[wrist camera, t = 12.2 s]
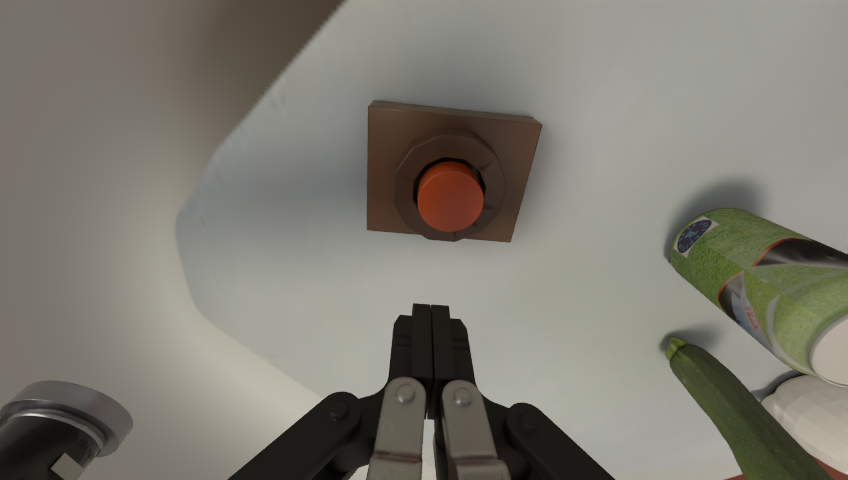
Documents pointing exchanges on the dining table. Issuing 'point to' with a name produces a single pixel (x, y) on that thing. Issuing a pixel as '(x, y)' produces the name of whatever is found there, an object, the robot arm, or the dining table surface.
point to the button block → (440, 142)
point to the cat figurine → (814, 417)
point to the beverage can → (772, 287)
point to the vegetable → (741, 418)
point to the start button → (449, 196)
